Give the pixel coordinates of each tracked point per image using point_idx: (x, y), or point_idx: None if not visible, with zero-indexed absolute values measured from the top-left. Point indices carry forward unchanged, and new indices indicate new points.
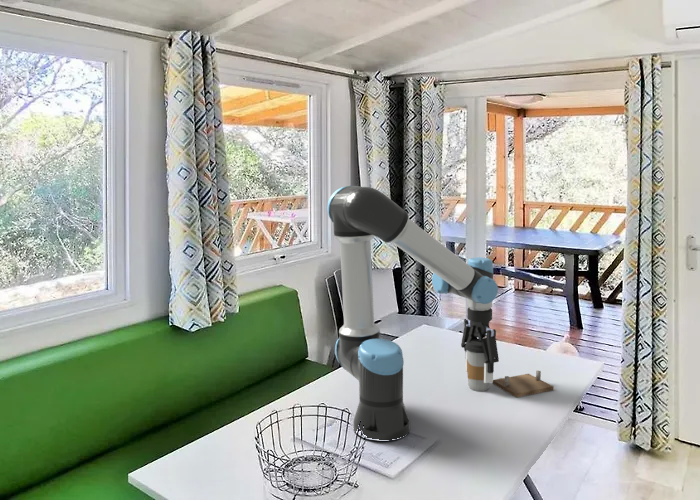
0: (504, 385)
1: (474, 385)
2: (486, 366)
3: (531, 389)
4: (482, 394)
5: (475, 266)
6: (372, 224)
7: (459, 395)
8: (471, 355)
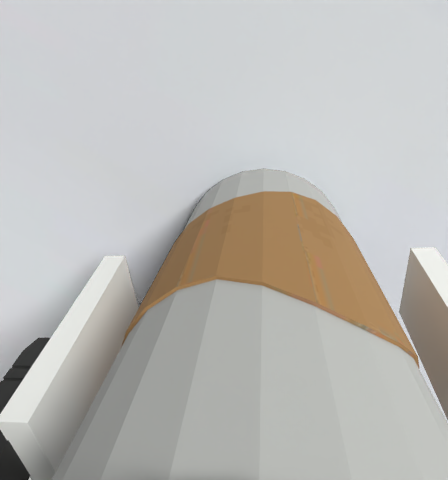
0: None
1: (211, 194)
2: (29, 383)
3: None
4: (145, 197)
5: None
6: None
7: (167, 7)
8: (157, 413)
